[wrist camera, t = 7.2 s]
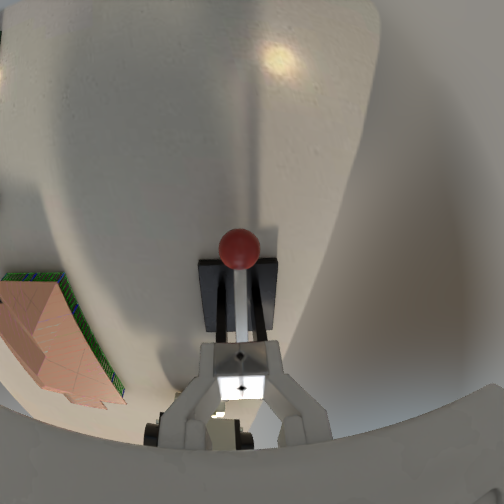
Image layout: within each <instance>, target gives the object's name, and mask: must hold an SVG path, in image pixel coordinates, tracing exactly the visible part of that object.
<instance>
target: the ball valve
mask: <svg viewBox="0 0 504 504" xmlns="http://www.w3.org/2000/svg"><path fill="white" fill-rule="evenodd" d="M180 394H181V393H178V392H176V393H175V400H176V399H177V398H178V396H179V395H180ZM175 400H174V401H175ZM224 412H225V401H221V402H220V404H219V406H218V407H217V409H216V410H215V412H214V413H213V415H212V416H211V418H210V419H209V421H208V422H207V424H206V428H207V431H208V433H209V436H210V439H211V441H212V450H254V441H253V437H252V434H251V433H250V432H243V428H242V427H240V420H237V419H218V418H216V416H221V417H223V416H224ZM163 414H164V412H160V417H159V420H158V419H156V424H152V423H147V424H146V427H145V432H144V444H143V445H144V446H152V447H158V438H159V429H160V420H161V416H162V415H163ZM158 424H159V425H158Z"/></svg>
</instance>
